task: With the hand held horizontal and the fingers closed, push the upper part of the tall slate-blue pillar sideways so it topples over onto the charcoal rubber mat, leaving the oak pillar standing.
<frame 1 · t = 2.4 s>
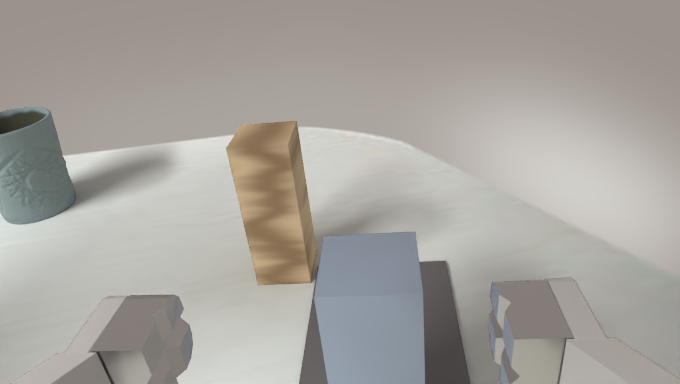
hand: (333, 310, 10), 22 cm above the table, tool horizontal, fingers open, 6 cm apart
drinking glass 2: (43, 207, 65), on the table
mat: (381, 319, 41), on the table
oak pillar: (288, 267, 48), on the table
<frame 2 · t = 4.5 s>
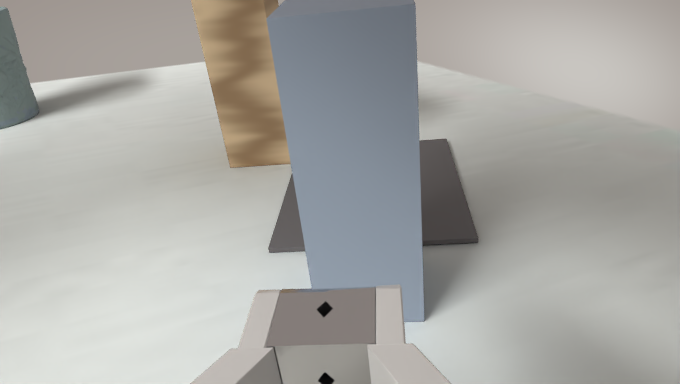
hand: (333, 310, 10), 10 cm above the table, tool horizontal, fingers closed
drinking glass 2: (2, 121, 59), on the table
mat: (371, 188, 35), on the table
oak pillar: (266, 152, 42), on the table
slate pillar: (370, 287, 25), on the table
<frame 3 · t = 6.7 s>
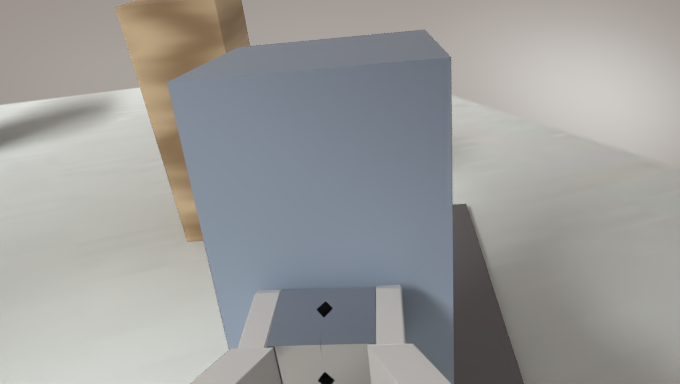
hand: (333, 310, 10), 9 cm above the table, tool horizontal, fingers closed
mat: (369, 285, 26), on the table
oak pillar: (235, 217, 33), on the table
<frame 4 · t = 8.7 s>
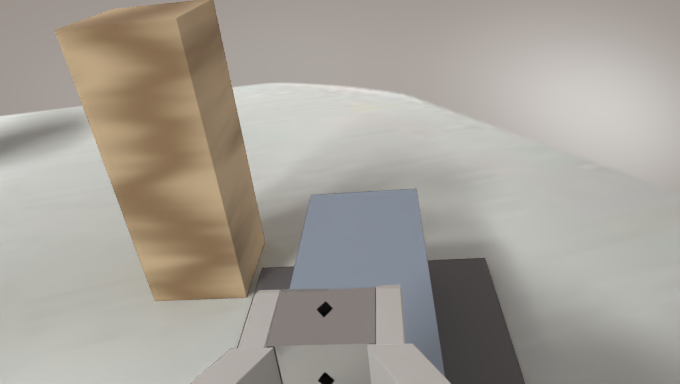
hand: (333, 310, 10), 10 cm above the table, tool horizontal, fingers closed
mat: (370, 371, 21), on the table
oak pillar: (213, 269, 28), on the table
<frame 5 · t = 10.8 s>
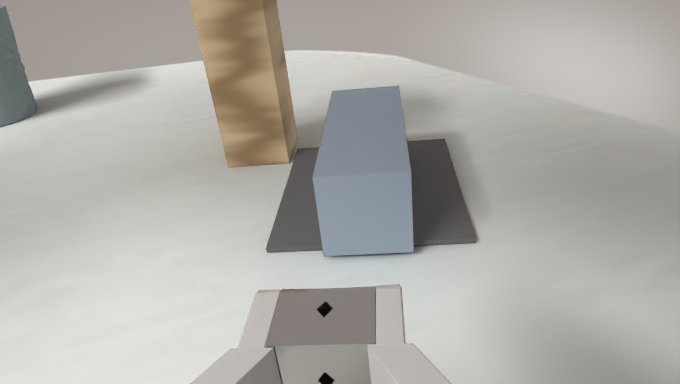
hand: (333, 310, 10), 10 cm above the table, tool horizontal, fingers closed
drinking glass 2: (0, 119, 59), on the table
mat: (369, 188, 35), on the table
oak pillar: (264, 152, 42), on the table
slate pillar: (364, 216, 26), point 3 cm above the table, tilted 90°, touching mat
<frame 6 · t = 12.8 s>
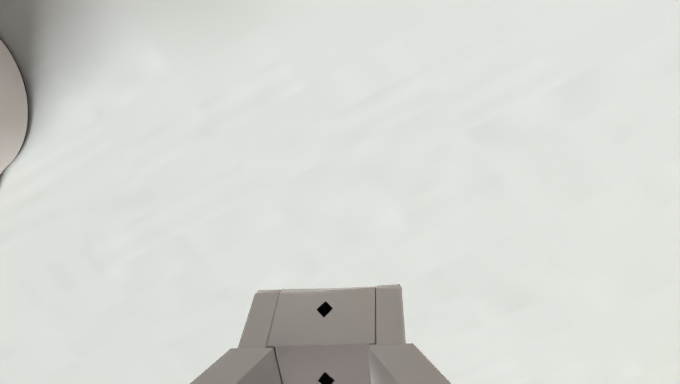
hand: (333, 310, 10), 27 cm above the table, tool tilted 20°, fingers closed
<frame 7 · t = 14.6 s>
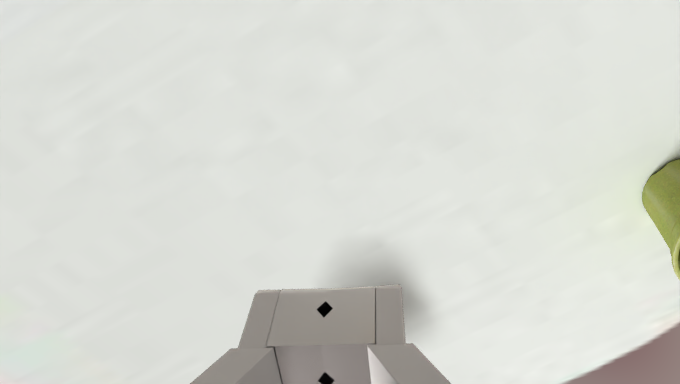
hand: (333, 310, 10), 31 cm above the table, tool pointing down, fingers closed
plant pot: (678, 187, 43), on the table
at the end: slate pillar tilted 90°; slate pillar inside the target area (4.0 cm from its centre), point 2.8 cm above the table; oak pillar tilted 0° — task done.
